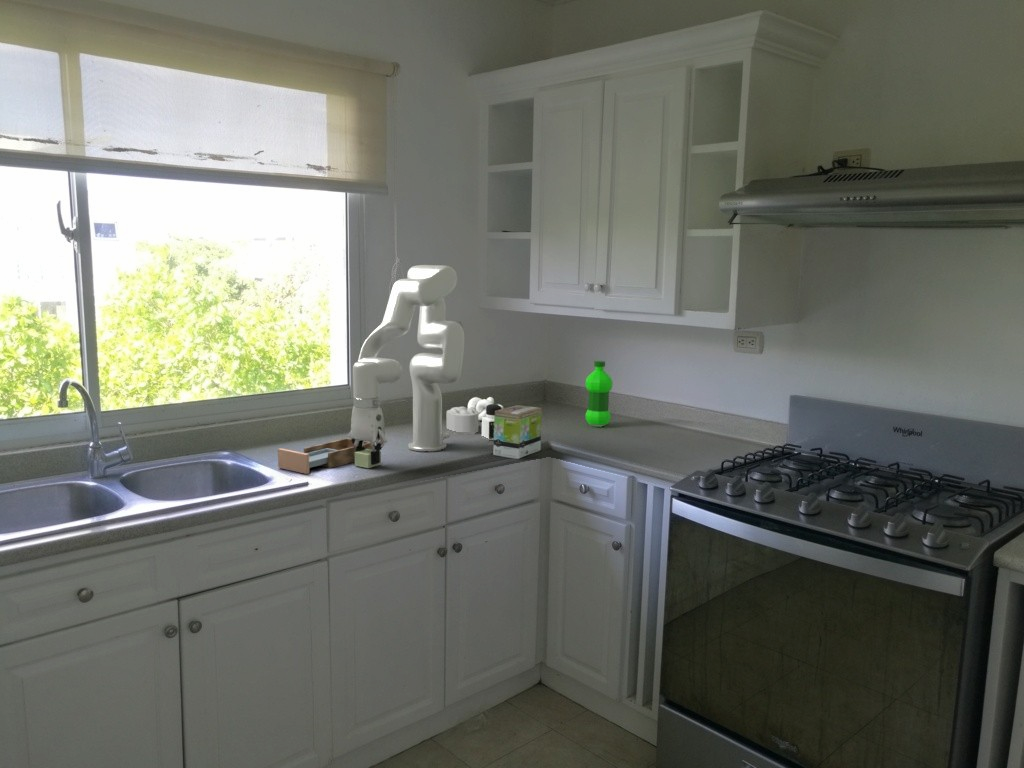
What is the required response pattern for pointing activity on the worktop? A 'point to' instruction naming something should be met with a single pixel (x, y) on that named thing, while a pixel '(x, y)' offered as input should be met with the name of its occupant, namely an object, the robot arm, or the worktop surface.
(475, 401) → the white knobbly figure
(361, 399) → the robot arm
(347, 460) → the organiser box
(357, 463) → the olive block
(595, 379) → the plastic bottle
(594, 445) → the worktop surface
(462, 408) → the lumpy-topped squat cylinder
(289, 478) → the worktop surface
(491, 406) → the medicine bottle
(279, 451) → the wooden drawer
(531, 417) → the tea box
